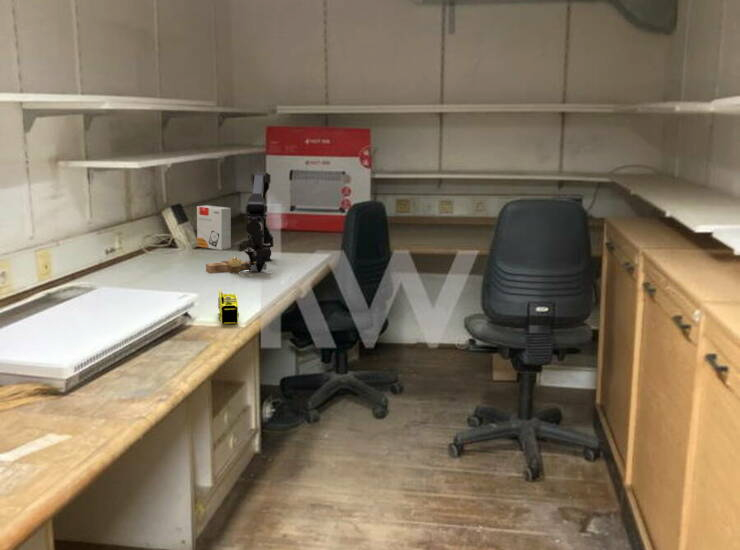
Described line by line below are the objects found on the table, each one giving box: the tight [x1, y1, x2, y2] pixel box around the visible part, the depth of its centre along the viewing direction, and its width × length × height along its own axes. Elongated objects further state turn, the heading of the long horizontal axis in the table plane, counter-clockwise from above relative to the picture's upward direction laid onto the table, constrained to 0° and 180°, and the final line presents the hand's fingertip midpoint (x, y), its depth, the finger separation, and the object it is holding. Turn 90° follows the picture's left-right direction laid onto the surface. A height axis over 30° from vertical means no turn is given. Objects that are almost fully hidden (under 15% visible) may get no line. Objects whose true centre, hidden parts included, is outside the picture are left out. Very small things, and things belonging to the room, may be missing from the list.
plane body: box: [205, 260, 250, 274], centre depth 287 cm, size 23×12×5 cm, turn 119°
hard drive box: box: [196, 204, 232, 251], centre depth 339 cm, size 16×8×20 cm, turn 62°
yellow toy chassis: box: [217, 287, 240, 326], centre depth 213 cm, size 16×6×8 cm, turn 14°
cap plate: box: [246, 261, 268, 271], centre depth 282 cm, size 7×6×3 cm
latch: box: [227, 256, 242, 267], centre depth 282 cm, size 4×5×3 cm
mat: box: [240, 270, 272, 277], centre depth 282 cm, size 10×8×1 cm
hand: (256, 270), depth 282 cm, fingers closed on cap plate, 6 cm apart
